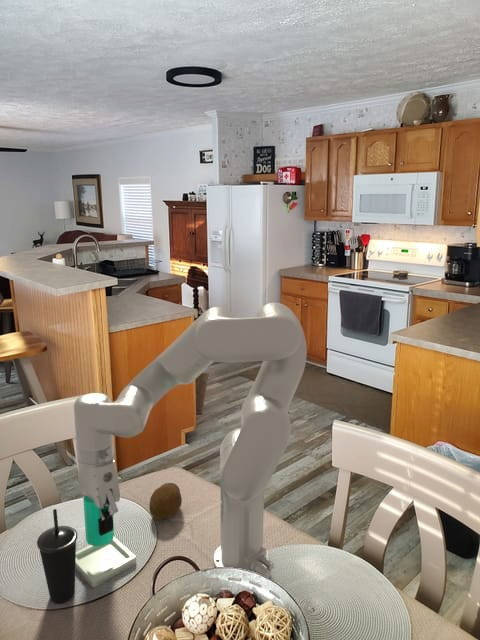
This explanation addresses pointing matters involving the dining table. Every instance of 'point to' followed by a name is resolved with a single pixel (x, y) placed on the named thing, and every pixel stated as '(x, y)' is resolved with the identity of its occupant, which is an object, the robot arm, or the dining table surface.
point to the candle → (95, 525)
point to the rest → (103, 561)
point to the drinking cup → (59, 560)
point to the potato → (165, 501)
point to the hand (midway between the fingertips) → (99, 525)
